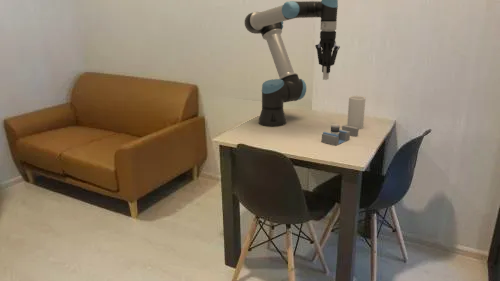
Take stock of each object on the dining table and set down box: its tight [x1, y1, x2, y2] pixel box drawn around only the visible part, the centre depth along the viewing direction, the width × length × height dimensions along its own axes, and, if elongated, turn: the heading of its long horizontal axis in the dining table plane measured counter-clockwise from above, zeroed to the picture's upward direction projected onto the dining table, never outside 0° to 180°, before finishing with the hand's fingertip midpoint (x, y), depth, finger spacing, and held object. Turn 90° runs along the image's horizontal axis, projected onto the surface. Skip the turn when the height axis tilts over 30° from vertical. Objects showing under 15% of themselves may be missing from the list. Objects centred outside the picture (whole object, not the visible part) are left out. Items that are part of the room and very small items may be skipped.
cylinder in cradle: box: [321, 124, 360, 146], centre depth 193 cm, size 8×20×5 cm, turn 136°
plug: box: [330, 122, 341, 135], centre depth 189 cm, size 4×4×8 cm
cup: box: [346, 95, 366, 130], centre depth 210 cm, size 8×8×16 cm
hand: (325, 79), depth 201 cm, fingers closed
